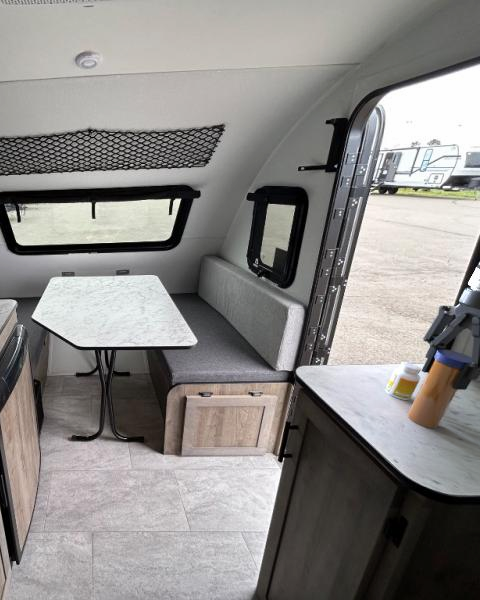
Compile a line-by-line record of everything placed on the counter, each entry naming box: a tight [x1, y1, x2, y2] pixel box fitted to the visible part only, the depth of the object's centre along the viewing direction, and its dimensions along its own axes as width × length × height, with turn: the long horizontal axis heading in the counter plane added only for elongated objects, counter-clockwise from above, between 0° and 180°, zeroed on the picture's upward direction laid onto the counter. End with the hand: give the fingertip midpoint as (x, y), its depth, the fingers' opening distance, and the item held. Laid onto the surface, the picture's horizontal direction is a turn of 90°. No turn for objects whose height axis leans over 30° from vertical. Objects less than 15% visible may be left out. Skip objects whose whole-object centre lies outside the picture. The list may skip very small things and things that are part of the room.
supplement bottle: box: [385, 361, 422, 401], centre depth 92 cm, size 5×5×10 cm
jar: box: [406, 359, 462, 429], centre depth 80 cm, size 6×6×18 cm
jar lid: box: [434, 348, 472, 369], centre depth 77 cm, size 6×6×2 cm
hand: (442, 379), depth 79 cm, fingers closed on jar lid, 6 cm apart
